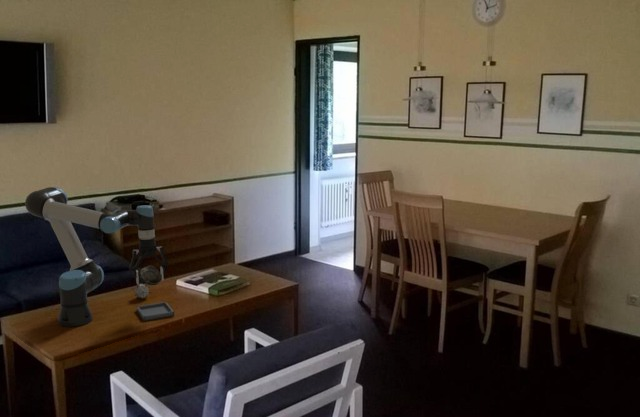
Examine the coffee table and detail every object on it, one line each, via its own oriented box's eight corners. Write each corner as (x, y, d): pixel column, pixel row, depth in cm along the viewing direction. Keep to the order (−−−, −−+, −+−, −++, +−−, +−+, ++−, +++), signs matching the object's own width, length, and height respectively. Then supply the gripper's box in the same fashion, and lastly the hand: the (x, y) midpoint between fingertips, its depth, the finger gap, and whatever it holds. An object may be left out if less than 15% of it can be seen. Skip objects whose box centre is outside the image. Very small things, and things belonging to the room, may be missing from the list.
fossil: (154, 286, 286) (144, 267, 285) (140, 293, 289) (129, 275, 288) (165, 278, 296) (155, 260, 296) (151, 286, 299) (141, 268, 299)
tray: (143, 321, 288) (143, 316, 288) (136, 310, 302) (136, 306, 301) (174, 315, 295) (174, 311, 294) (166, 305, 308) (166, 301, 308)
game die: (146, 304, 321) (157, 290, 319) (134, 303, 314) (145, 288, 312) (138, 293, 325) (149, 279, 324) (126, 291, 318) (137, 277, 316)
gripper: (122, 242, 281) (126, 287, 285) (173, 236, 291) (176, 280, 295) (120, 239, 287) (123, 283, 291) (169, 233, 297) (172, 276, 301)
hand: (150, 281), depth 293 cm, fingers closed on fossil, 11 cm apart
